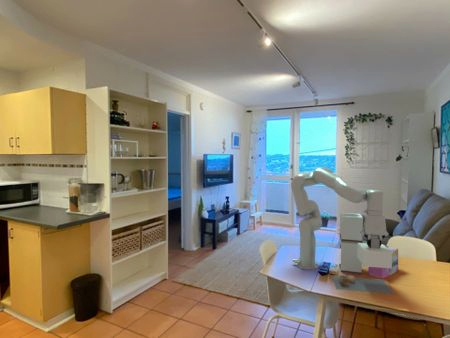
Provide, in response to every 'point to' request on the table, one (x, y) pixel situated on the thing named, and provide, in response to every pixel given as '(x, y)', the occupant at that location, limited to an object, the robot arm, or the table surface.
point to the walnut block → (344, 281)
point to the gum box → (386, 271)
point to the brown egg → (351, 278)
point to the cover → (374, 254)
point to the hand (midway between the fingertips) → (373, 246)
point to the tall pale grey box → (350, 242)
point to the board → (364, 285)
